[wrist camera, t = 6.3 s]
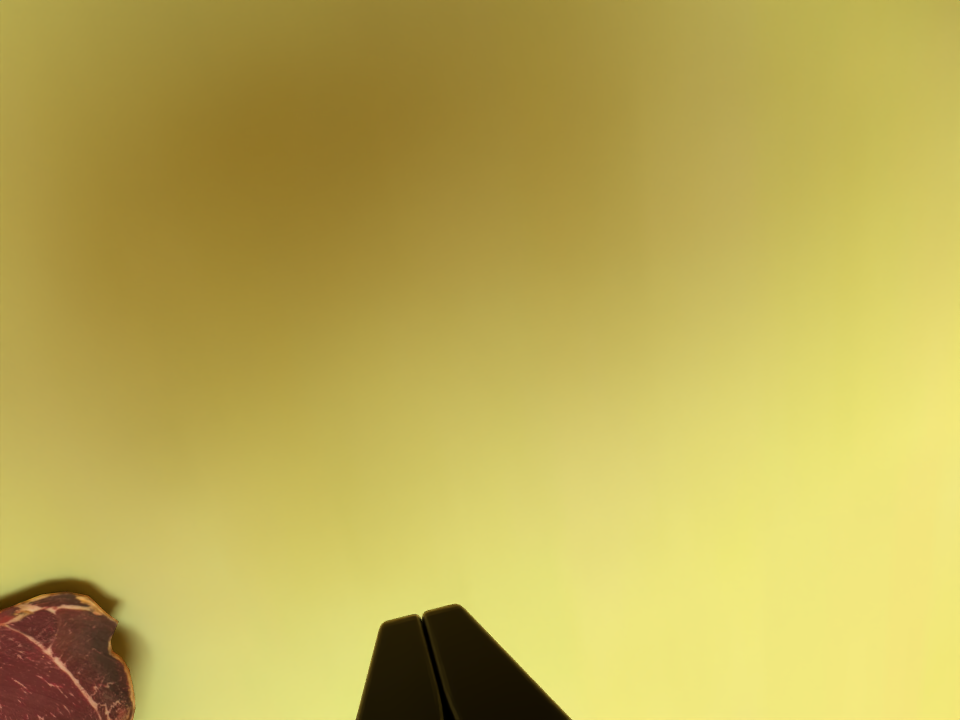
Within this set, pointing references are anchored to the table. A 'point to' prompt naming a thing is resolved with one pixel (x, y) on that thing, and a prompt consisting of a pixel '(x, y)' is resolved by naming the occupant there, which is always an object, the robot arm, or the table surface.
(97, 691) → the cured meat
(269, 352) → the table surface
